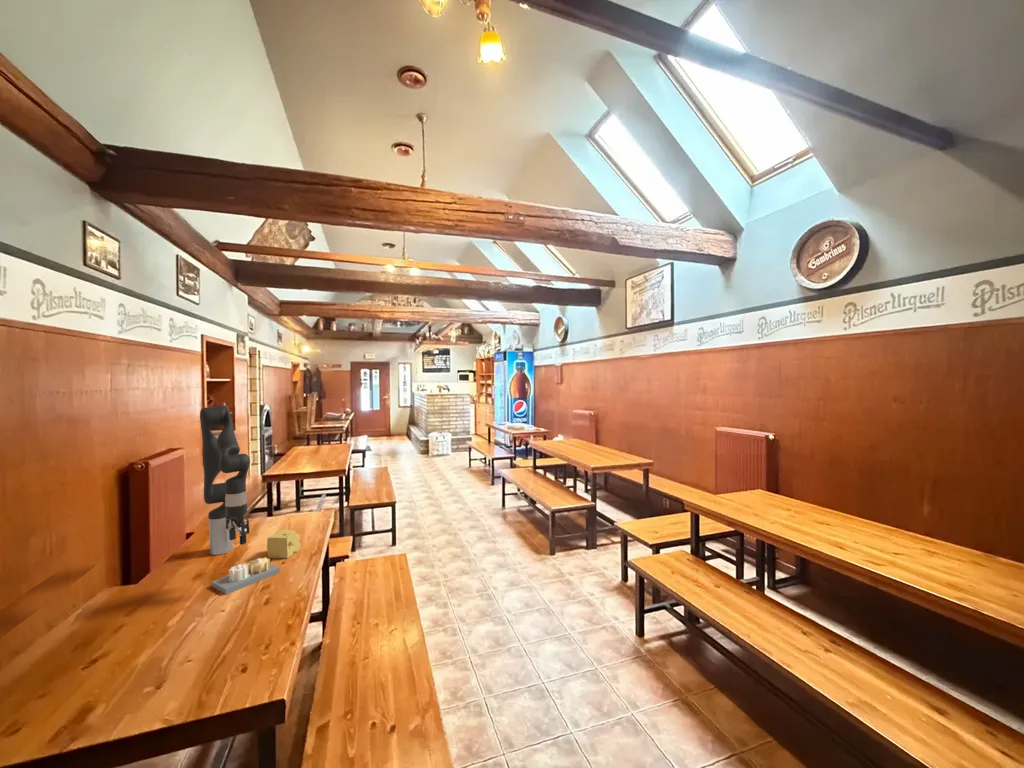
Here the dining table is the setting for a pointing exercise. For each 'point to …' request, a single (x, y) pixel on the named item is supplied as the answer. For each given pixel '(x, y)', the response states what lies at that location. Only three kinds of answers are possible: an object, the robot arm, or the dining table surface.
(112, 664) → the dining table surface
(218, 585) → the gear board
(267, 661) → the dining table surface
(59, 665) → the dining table surface
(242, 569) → the nylon gear
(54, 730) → the dining table surface
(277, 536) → the cheese
